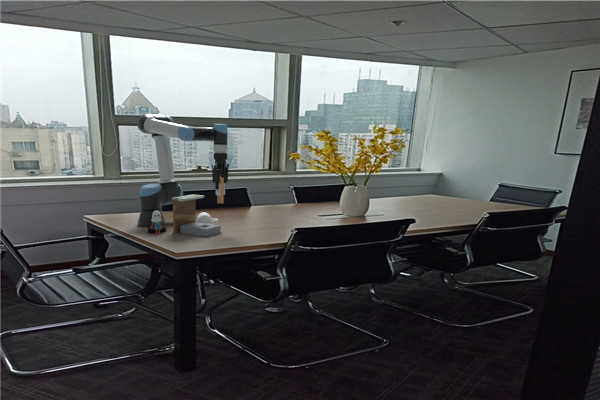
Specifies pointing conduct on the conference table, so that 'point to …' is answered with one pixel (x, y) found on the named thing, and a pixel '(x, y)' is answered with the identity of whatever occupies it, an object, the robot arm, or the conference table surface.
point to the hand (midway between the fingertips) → (220, 194)
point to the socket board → (200, 229)
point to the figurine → (156, 224)
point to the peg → (220, 198)
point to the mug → (205, 218)
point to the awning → (184, 210)
